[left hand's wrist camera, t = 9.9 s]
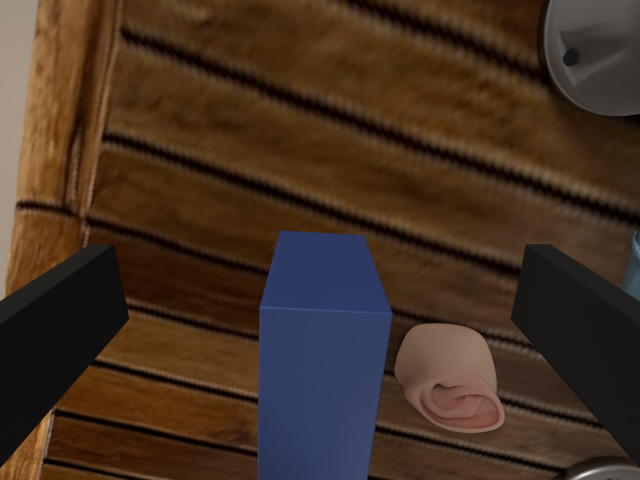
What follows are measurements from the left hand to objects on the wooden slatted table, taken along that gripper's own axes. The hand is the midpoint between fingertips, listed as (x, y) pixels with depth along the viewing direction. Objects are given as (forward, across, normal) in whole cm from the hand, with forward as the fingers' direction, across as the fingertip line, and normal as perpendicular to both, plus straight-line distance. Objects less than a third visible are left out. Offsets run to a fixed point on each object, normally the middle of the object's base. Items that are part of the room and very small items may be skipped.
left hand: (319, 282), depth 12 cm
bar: (+10, -1, -16) cm, 19 cm away
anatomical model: (+24, +14, -23) cm, 37 cm away
